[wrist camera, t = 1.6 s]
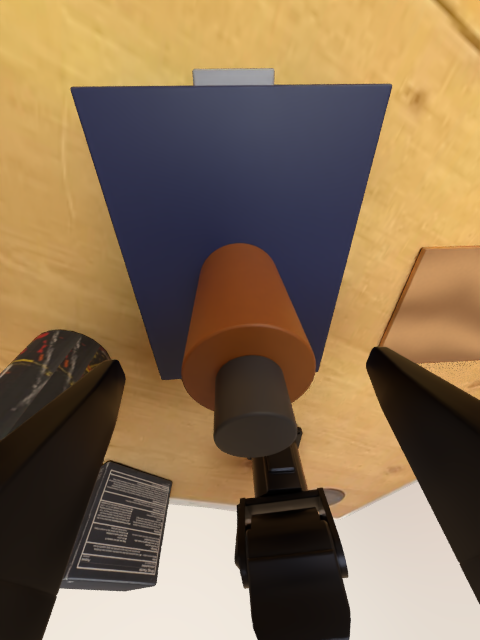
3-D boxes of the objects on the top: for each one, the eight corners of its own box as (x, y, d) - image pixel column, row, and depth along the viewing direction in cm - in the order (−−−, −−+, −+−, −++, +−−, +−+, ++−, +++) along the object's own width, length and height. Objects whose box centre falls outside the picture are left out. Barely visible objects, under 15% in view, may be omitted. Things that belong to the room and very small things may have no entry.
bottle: (274, 312, 15) (323, 470, 8) (203, 315, 15) (183, 479, 7) (280, 240, 12) (364, 377, 5) (194, 243, 12) (150, 389, 5)
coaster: (483, 357, 23) (487, 360, 22) (371, 362, 22) (373, 365, 22) (577, 242, 16) (584, 244, 16) (421, 247, 16) (426, 249, 16)
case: (307, 346, 21) (318, 372, 18) (168, 353, 20) (160, 381, 18) (362, 79, 11) (401, 60, 9) (96, 81, 11) (59, 61, 8)
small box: (82, 475, 33) (33, 590, 24) (108, 458, 30) (64, 579, 22) (147, 494, 38) (125, 595, 29) (174, 481, 35) (158, 586, 27)
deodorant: (40, 317, 18) (-369, 694, 5) (120, 349, 20) (-43, 667, 8) (26, 365, 20) (-269, 689, 8) (98, 388, 23) (-48, 670, 10)
